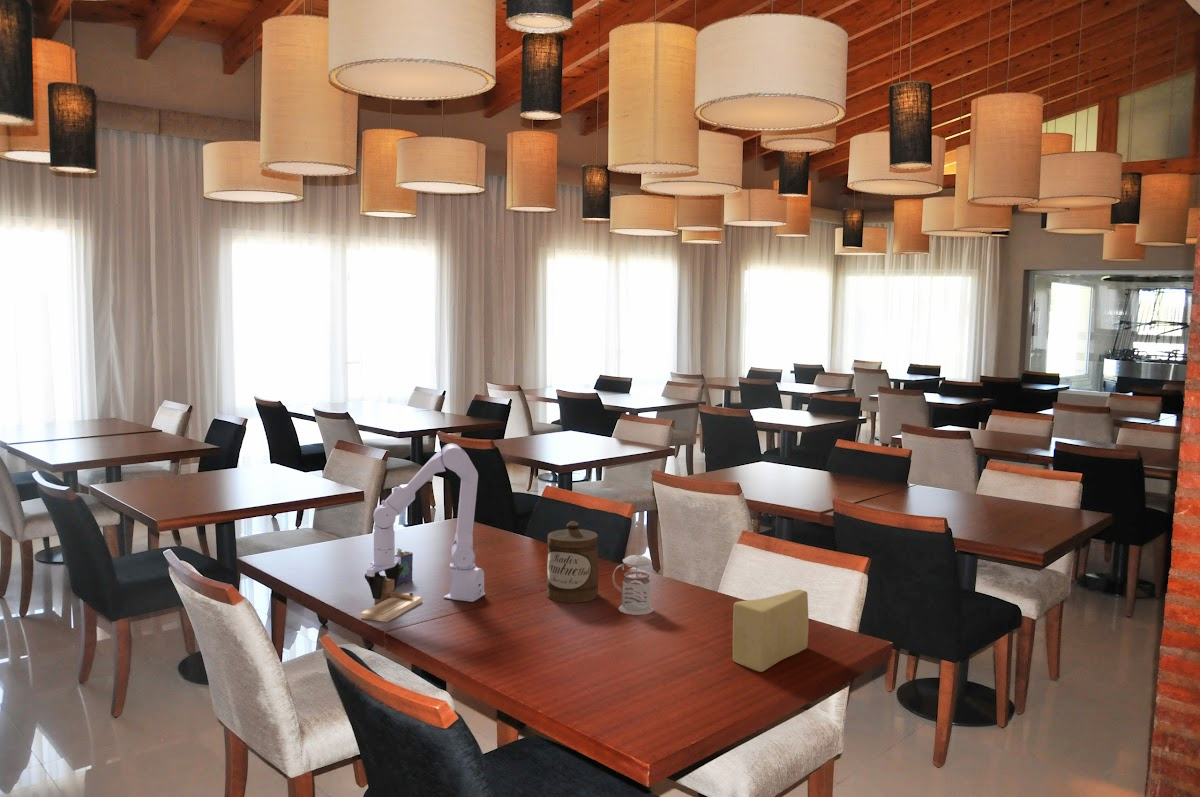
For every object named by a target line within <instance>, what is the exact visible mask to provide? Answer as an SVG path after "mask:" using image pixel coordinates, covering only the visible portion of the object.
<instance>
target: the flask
mask: <svg viewBox="0 0 1200 797" xmlns="http://www.w3.org/2000/svg"><path fill="white" fill-rule="evenodd" d="M395 552H396V554H395V557H401V564H399V565H401V566H403V570H402V572H401V574H400V576H399V579H398V582H397V586H396V588H398V587H400V586H403V585H405V584H406V585H407V584H409V583H412V582H413V555H414V553H413V552H411V551H407V550H406V551H402V549H401V548H396V550H395Z"/></svg>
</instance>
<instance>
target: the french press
mask: <svg viewBox="0 0 1200 797" xmlns="http://www.w3.org/2000/svg"><path fill="white" fill-rule="evenodd" d="M633 525H634V526H636V530H637V531H636V554H633V555H628V556H626V557H625V558H623V559H622V563H621V564H619V565H617V566H616V567H615V569H614V571H613V572H612V578H613V579H612V583H613V586H614V587H615V589H617V590H618V591H619V592H621V605H620V606H619V607H618V610H619V611H620V613H624V614H627V615H634V616H635V615H636V616H639V615H640V616H641V615H647V614H651V613H652V612H654V608H653V607H652V606H651V579H649V578H650V574H649V573H647V572H643V571H638V567H646V566H649V565H651V564H652V560H651V559H650V558H649V557H647V556H645V555H642V554H638V550H639V549H638V548H639V547H638V546H639V545H638V544H639V543H638V542H639V527H640V526H642V523H641V521H639V520H636V521H635V522H634V524H633ZM625 565H628V566H632V567H633V566H634V567H636V569H635V570H636V571H628V572H625V573H624V574H623V577H624V578H623V580H622V588H621V587H619V585H618V584H617V583H616V580H615V579H616V577H615V574H616V571H617V570H618V569H619V568H620V567H621V568H622V571H624V570H625ZM632 581H635V582H632ZM636 581H638V582H636ZM630 582H631V583H630ZM639 582H640V583H639ZM641 583H642V584H641ZM642 593H643V594H642Z"/></svg>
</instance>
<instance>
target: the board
mask: <svg viewBox="0 0 1200 797" xmlns="http://www.w3.org/2000/svg"><path fill="white" fill-rule="evenodd" d="M421 603H423V597H422V596H416V595H414V598H412V599H407V598H399V597H390V598H388V599H386V600H384V601H383V602H381V603H377V604H376V605H373V606H371V607H370V608H368V609H365V610H363V611H362V612H360V614H361V615H360V619H364V620H371V621H379V622H384V623H386V622H387V623H388V622H390V621H391V620H393V619H395V618H397V617H399V616H400V615H402V614H404V613H406V612H407V611H409V610H411V609H413V608H414V607H416V606H418V605H420V604H421Z"/></svg>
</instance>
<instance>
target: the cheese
mask: <svg viewBox="0 0 1200 797" xmlns="http://www.w3.org/2000/svg"><path fill="white" fill-rule="evenodd" d="M808 595H809V594H808V592H807V591H806V590H803V589H792V590H790V591H787V592H783V593H779V594H776V595H773V596H772V595H771V596H768V597H767V596H766V597H763V598H756V599H748V600H741V601H735V602H734V603H733V615H732V616H733V617H732V661H733V662H734V663H736V664H738V665H740V666H743V667H745V668H747V669H750V670H752V671H756V672H759V673H762V672H766V670H768V669H769V668H771V667H773V666H775V665H776V664H777V663H779V662H780V661H781V662H782V661H783V660H784V659H787V658H788V657H791V656H794V655H796V654H799V653H800V652H802V651H804V650H806V649H807V648H808V640H809V602H808V600H809V599H808V598H809V596H808Z"/></svg>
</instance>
